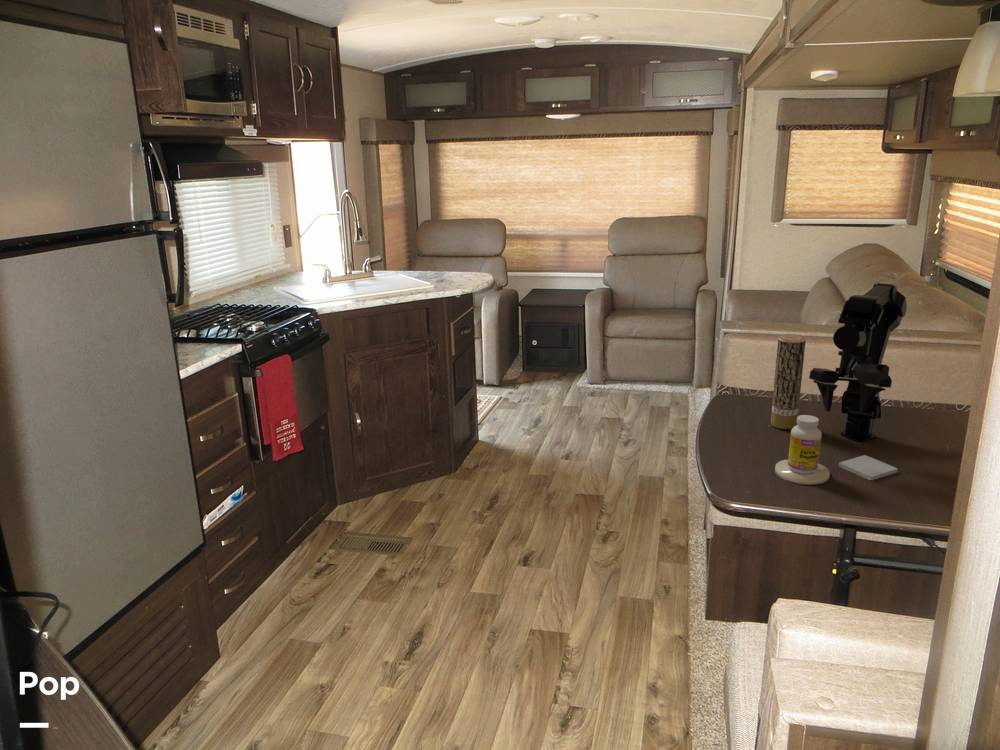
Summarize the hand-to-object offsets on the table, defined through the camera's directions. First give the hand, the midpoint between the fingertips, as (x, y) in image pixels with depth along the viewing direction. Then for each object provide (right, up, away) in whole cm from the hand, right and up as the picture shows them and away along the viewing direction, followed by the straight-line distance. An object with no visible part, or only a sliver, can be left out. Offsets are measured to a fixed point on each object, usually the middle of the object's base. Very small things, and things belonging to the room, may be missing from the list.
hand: (844, 412), depth 184 cm
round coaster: (-12, -14, -5) cm, 19 cm away
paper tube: (-6, -5, +23) cm, 25 cm away
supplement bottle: (-12, -13, -5) cm, 19 cm away
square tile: (+4, -13, -4) cm, 14 cm away
